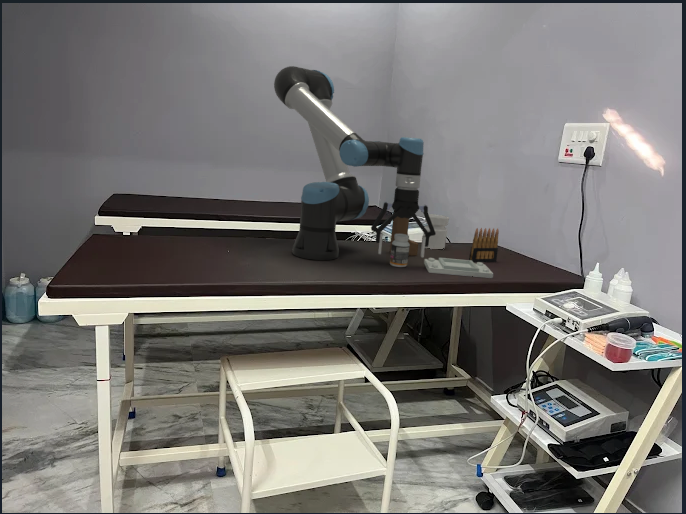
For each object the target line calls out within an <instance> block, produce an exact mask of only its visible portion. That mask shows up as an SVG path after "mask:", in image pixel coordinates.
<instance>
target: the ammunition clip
mask: <svg viewBox="0 0 686 514" xmlns="http://www.w3.org/2000/svg"><path fill="white" fill-rule="evenodd" d="M499 232H500V231H499V227H497V228H496V230H495V228H494V227H493V228H492V230H491V228H490V227H489V228H488V230H487V228H486V227H485V228H484V229H483V228H482V227H481V228H480V229H478V227H477V228H476V229H475V230H474V236H473V239H472V246H471V247H470V251H469V252H470V253H469V258H468V260H471V261H473V262H474V263H477V262H482V263H496V262H497V259H498V251H499V250H498V249H499V248H498V244H499Z"/></svg>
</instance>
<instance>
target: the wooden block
mask: <svg viewBox="0 0 686 514" xmlns="http://www.w3.org/2000/svg"><path fill="white" fill-rule="evenodd" d="M409 225H410V219H407V218H399V217H398V216H397V217H396V218H395V219H394V220H393V221H392V225H391V235H390V245H389V253H390V254H391V247H392V242H393V241H394V240H395V239H394V235H395V234H406V235H409V233H408V232H409ZM408 243H409V244H410V247H409V255H408V257H409V256H410V257H411V256H412V257H413V256H414V257H417V256H418V251H419V243H418V242H416V241H414V240H412V239H410V238H409V240H408Z"/></svg>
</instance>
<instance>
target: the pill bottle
mask: <svg viewBox="0 0 686 514" xmlns="http://www.w3.org/2000/svg"><path fill="white" fill-rule="evenodd" d="M394 239H395V240H394V241H393V242H392V247H391V253H390V256H389V264H390V266H392V267H397V268H405V267H407V266H408V261H409V256H408V255H409V247H410V244H409V243H408V240H409V239H410V235H409V234H408V235H406V234H395V235H394Z"/></svg>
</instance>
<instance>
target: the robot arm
mask: <svg viewBox="0 0 686 514" xmlns="http://www.w3.org/2000/svg"><path fill="white" fill-rule="evenodd" d="M273 89H274V92H275V94H276V97H278V99H279V101H281V103H282V104H284V106H285V107H287V108H288V109H290V110H295V111H296V112H297V113H298V114H299V115H300V116H301V117H302V118H303V119H304V120H305V121H306V122H307V123H308V127H309V130H310V134H311V136H312V139H313V143H314V147H315V149H316V150H315V151H316V153H317V156H318V158H319V163H320V165H321V170H322V172H323V175H324V179H325V181H321V182H320V181H316V182H310V183H307V184H305V185H304V186H303V188H302V192H301V193H302V194H301V196H300V199H301V201H300V203H301V204H300V217H299V218H300V219H299V231H298V233H297V236H296V238H295V241H294V243H293V246H292V254H293V255H294V256H295V257H298V258H302V259H307V260H314V261H330V260H336V259H337V258H339V253H340V250H339V244H338V240H337V236H336V226H337V222H342V221H343V222H344V221H353V220H357V219H359V218H362V217H363V216H364V215H365V213H366V212H367V209H368V208H369V204H370V197H369V194H368V191H367V190H366V188H364V187H363V186H362V185H360V184H359V183H358V180H357V176H355V175H353V174H352V173H350V170H349V166H350V167H353V168H355V167H390V168H396V175H395V187H396V188H395V189H394V194H393V195H394V197H393V203H391V202H387V201H384V202H383V205H382V208H381V210H380V211H379V214H378V215H377V216H376V219H375V221H374V222H373V224H372V225H371V227H370V229H371V231H372V232H375V243H376V244H378V250H377V252H378V253H377V254H378V255H382V245H383V237H384V233H383V232H382V231H384V230H385V229H386V228H387V227H388V226H389V225H390V223H393V220H394V219H395V218H396V217H397V216H398V217H399V218H407V219H409V220H410V219H411V218H413V220H414V221H415V222H416V224H417V226H418V227H419V229H420V230H421V231H422V232H423V234H425V236H423V235H422V236H421V247H420V254H419V255H420V257H421V258H424V257H425V249H426V248H425V247H428V244H429V237H430V236H433V235H435V234H436V233H435V230H434V228H433V225H432V222H431V220H430V217H429V215H428V214H429V213H428V212H429V207H428V205H426V204H423V205H419V196H420V191H419V189H420V187H421V185H420V184H421V177H422V176H421V175H422V165H423V157H424V146H425V145H424V143H425V141H424V140H423V139H422V138H417V137H406V136H405V137H403V136H402V137H400V138H399V142H398V143H397V142H396V143H395V142H387V141H371V140H365V139H364V138H362V137H361V136H360V135H359V134H358V133H357V132H356V131H354V129H352V128H351V127H350V126H349V125H348V124H347V123H346V122H345V121H344V120H342V119H341V118H340V117H339V116H338V114H336V113H335V112H333V111H332V110H331V107H333V106H332V105H333V99H334V93H335V86H334V83H333V81H332V79H331V77H330V76H329V75H327V73H324V72H322V71H320V70H317V69H308V68H304V67H299V66H294V65H293V66H292V65H291V66H290V65H289V66H286V67H284V68H282V69H280V70H279V72H277V74H276V76H275V78H274V81H273ZM391 208H392V209H393V212H392V213H391V215H389V217H388V218H387V219H386V220H384V221H383V222H382V223H381V221H382V219H383V218H384V216H385V215H386V213H387V211H389V210H390V209H391ZM419 210H420V211H421V213H423V216H424V218H425V219H426V222H427V223H426V222H425V223H426V225H428V227H429V229H430V232H428V231H427V230H426V229H425V226H424V224H423V223H422V222H421V220H420V218H419V217H418V216H417V214H416V213H418V211H419ZM425 219H424V220H425ZM380 223H381V225H379V224H380Z"/></svg>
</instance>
